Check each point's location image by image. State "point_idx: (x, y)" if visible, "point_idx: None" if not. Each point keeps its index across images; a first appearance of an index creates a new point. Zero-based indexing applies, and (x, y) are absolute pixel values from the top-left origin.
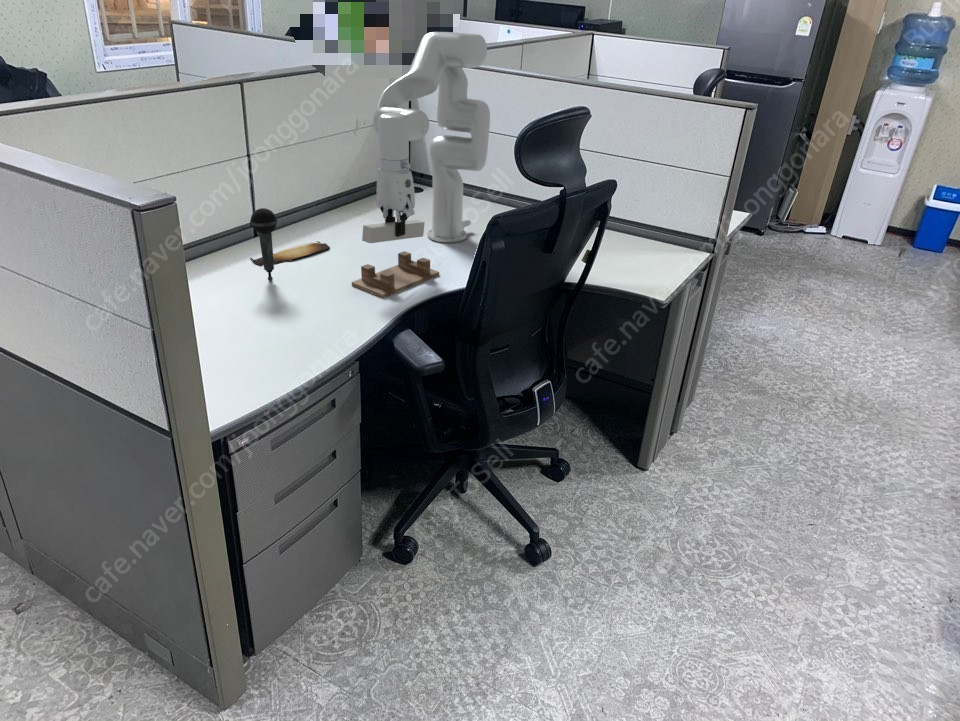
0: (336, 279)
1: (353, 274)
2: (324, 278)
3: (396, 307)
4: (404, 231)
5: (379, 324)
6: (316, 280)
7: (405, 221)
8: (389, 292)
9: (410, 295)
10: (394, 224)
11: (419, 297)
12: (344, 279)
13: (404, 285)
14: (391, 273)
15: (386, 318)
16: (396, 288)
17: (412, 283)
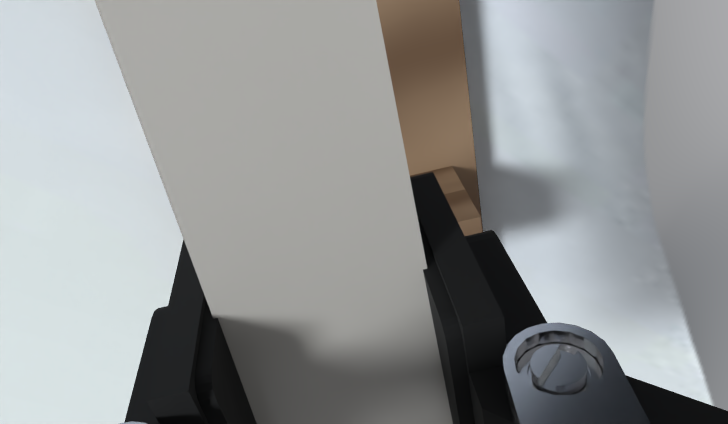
0: (102, 335)
1: (60, 235)
2: (60, 375)
3: (612, 242)
4: (493, 240)
5: (673, 362)
6: (73, 410)
7: (163, 57)
8: (479, 214)
9: (556, 106)
10: (402, 418)
11: (617, 76)
12: (121, 303)
13: (463, 94)
14: (463, 228)
15: (658, 322)
16: (467, 160)
17: (459, 17)
